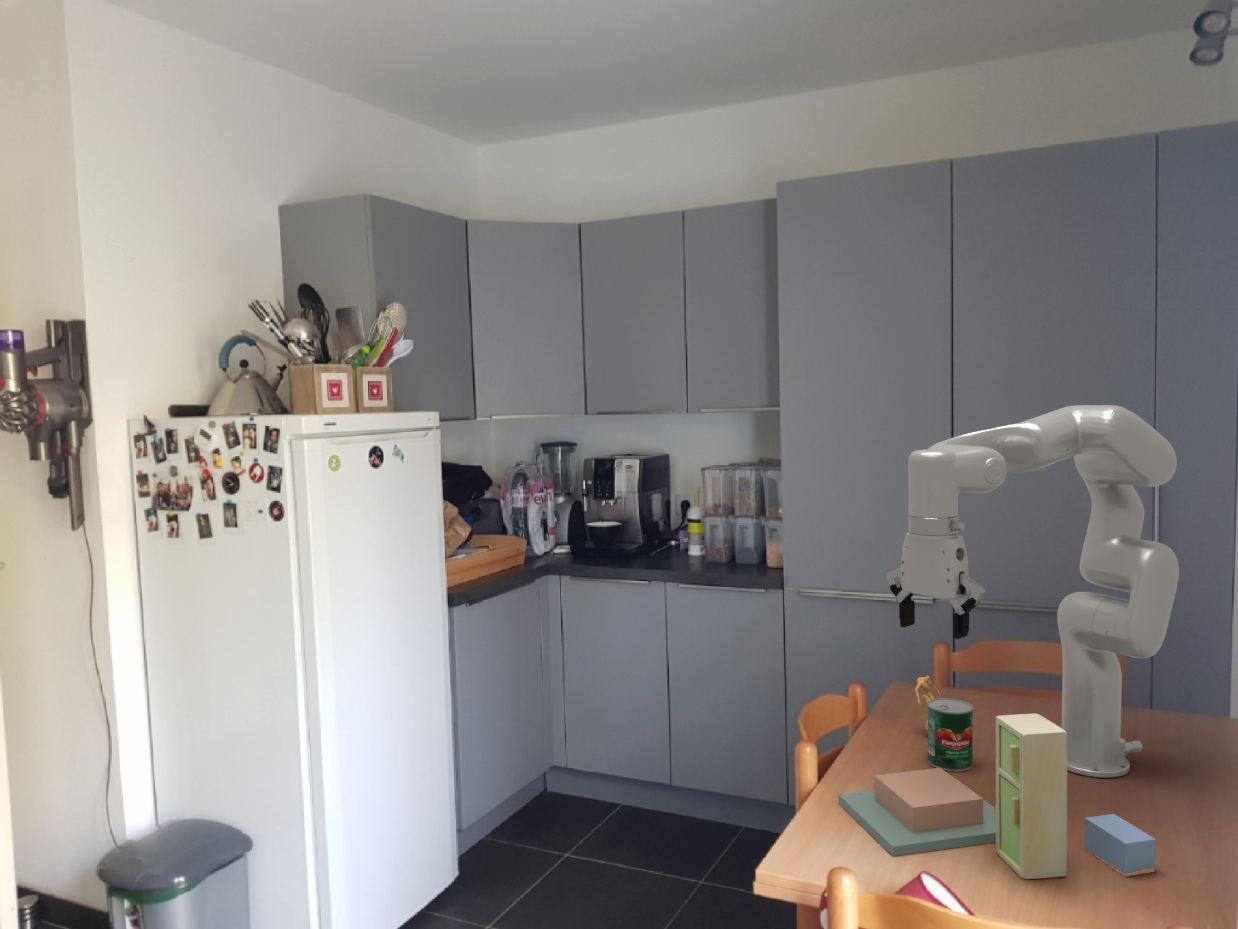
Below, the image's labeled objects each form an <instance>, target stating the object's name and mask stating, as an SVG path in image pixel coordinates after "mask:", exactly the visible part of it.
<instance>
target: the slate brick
mask: <svg viewBox="0 0 1238 929" xmlns="http://www.w3.org/2000/svg"><path fill="white" fill-rule="evenodd" d="M1083 836H1084V837H1083V838H1084V840H1083V841H1084V842H1083V844H1084V845H1083V850H1085V849H1086V850H1087V851H1086V850H1085V851H1086V852H1088V851H1089V852H1091V853H1092V854H1094V855H1096V856H1098V857H1099V858H1100V859H1102V860H1104V861H1105V862H1107V863H1108V864H1109V865H1111V866H1113V867H1114V868H1115V869H1118V870H1119V871H1121V872H1122V873H1124V874H1126V873H1133V872H1136V871H1140V870H1143V869H1153V868H1155V869H1156V856H1157V855H1156V851H1157V849H1156V848H1157V838H1154V837H1153V836H1151V835H1150V834H1148V833H1146V832H1145V831H1143V830H1141V829H1139V828H1138V827H1136V826H1135V825H1133V824H1132V823H1130V822H1128V821H1126V820H1125V819H1123V818H1121V817H1120V816H1118V815H1117V814H1115V813H1110V814H1103V815H1102V814H1101V815H1096V816H1087V817H1084V835H1083ZM1089 852H1088V853H1089ZM1092 854H1091V855H1092Z"/></svg>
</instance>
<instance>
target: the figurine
mask: <svg viewBox="0 0 1238 929" xmlns="http://www.w3.org/2000/svg"><path fill="white" fill-rule="evenodd" d="M930 678H931V677H930V676H929V675H926V676H924V677H923V676H919V677H917V679H916V686H915V689H914V692H915V695H916V698H917V703H918V705H919V706H922V705H923V704H922V701H921V700H920V699H921V698H920V695H919V690H920V691H921V693H922V699H923V702H925V703H926V705H928V702H929V701H930V700H933V699H935V697H934V696H933V694H932V692H931V691H930V690H931V687H932V688H933V690H935V691H936V692H937V693H938V696H940V697H941V696H942V695H941V693H940V691H939V689H938V688H937V687H936V686H935V684H933V682H932V681H931V679H930ZM926 712H927V714H928V706H927V707H926ZM924 727H925V730H926V732H927V733H928V719H927V720H926V721H925V725H924Z"/></svg>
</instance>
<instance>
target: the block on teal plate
mask: <svg viewBox="0 0 1238 929" xmlns="http://www.w3.org/2000/svg"><path fill="white" fill-rule="evenodd" d="M838 805H839V806H841V807H842V808H843V809H844V810H845V812H847V813H848V814H849V816H851V817H852V818H853V819H854V820H855V821H856V822H857V823H858V824H859V825H860V826H861V827H862V828H863V829H864V828H865V829H864V830H865V831H866V832H867V833H868V834H870V836H871V837H872V838H873V839H874V838H875V839H874V840H875V841H876V842H877V843H878V844H879V845H880V846H881V847H883V848H884V849H885V850H886V851H887V852H888V853H889V854H890V856H892V857H897V856H905V855H913V854H920V852H921V853H926V852H935V851H940V850H941V851H942V850H948V849H956V848H962V847H964V848H965V847H971V846H977V845H978V846H979V845H985V844H990V843H991V844H992V843H996V807H995V806H993V805H991V804H990V803H988V801H986V800H985V799H984V798H983V797H982V796H980V795H979V794H977V793H976V792H975V791H973V790H972V789H970V788H969V787H968V786H966V785H965V784H963V783H962V782H961V781H960V780H958V779H957V778H955V777H954V776H952V775H951V774H949V772H948V771H947V772H946V771H945V770H943V769H941V768H935V767H934V768H927V769H920V770H911V771H902V772H893V773H892V772H891V773H885V774H877V775H874V789H873V790H866V791H858V792H857V791H856V792H849V793H848V792H847V793H841V794H838ZM918 852H919V853H918Z"/></svg>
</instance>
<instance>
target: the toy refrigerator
mask: <svg viewBox="0 0 1238 929" xmlns="http://www.w3.org/2000/svg"><path fill="white" fill-rule="evenodd" d="M995 808H996V842H995V853H996V854H997V855H998V856H999V858H1001V859H1002V860H1003V861H1004V862H1005V863H1006V865H1008V866H1009V867H1010V868H1011V869H1012V870H1013V871H1014V872H1015V873H1016V874H1017V875H1018V876H1019V878H1021V879H1022V880H1035V879H1036V880H1037V879H1047V878H1048V879H1050V878H1061V877H1067V874H1068V854H1067V853H1068V770H1067V732H1066V731H1065V730H1064V729H1062V726H1059V725H1057V724H1056V723H1054V722H1052V721H1050V720H1049V719H1047V718H1045V717H1044V716H1043V715H1041V714H1039V713H1036V712H1035V713H1034V712H1033V713H1020V714H1019V713H1018V714H1005V715H1002V714H1001V715H997V716H995Z"/></svg>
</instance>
